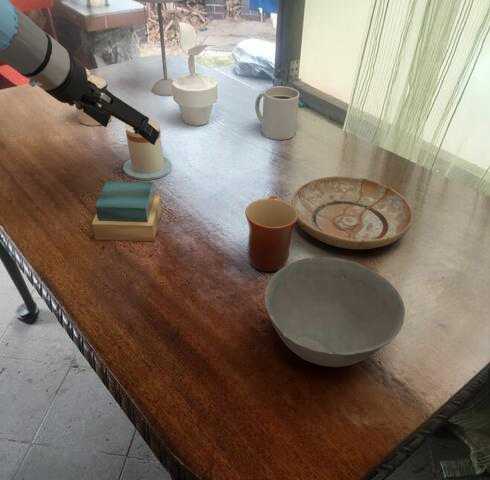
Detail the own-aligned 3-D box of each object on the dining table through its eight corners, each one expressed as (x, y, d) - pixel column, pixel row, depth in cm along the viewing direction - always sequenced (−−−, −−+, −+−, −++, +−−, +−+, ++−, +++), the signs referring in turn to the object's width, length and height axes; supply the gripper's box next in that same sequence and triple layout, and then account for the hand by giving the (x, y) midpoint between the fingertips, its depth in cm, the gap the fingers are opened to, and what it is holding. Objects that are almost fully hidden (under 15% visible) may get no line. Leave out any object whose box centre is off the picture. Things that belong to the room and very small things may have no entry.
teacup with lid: (110, 126, 118) (101, 78, 110) (75, 126, 118) (63, 78, 109) (116, 108, 126) (109, 62, 118) (83, 108, 126) (73, 61, 117)
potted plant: (166, 120, 122) (155, 9, 104) (200, 109, 128) (195, 2, 110) (195, 136, 116) (189, 21, 98) (229, 124, 122) (230, 13, 103)
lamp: (204, 85, 141) (199, -53, 116) (179, 104, 130) (168, -43, 105) (155, 76, 144) (140, -59, 120) (127, 95, 133) (105, -50, 109)
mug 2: (290, 279, 79) (297, 230, 71) (241, 274, 79) (242, 225, 72) (293, 238, 87) (299, 190, 79) (247, 235, 87) (249, 186, 80)
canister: (127, 161, 104) (120, 122, 98) (157, 155, 107) (153, 117, 100) (136, 176, 100) (130, 135, 94) (168, 169, 102) (164, 130, 96)
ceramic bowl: (429, 228, 91) (437, 207, 87) (359, 280, 79) (366, 258, 75) (337, 184, 102) (341, 163, 98) (264, 223, 90) (266, 201, 86)
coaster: (117, 161, 105) (117, 159, 105) (162, 153, 109) (162, 151, 109) (131, 184, 99) (131, 181, 98) (178, 174, 102) (178, 172, 102)
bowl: (236, 362, 66) (238, 314, 58) (296, 289, 77) (303, 241, 70) (357, 423, 59) (375, 377, 52) (402, 334, 71) (422, 286, 63)
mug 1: (299, 138, 117) (304, 98, 110) (264, 141, 115) (266, 100, 108) (286, 121, 124) (290, 82, 117) (253, 124, 122) (255, 84, 115)
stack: (108, 207, 92) (101, 178, 88) (162, 209, 92) (158, 180, 88) (95, 239, 85) (87, 209, 80) (154, 241, 85) (150, 211, 80)
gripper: (-2, 75, 80) (82, 130, 100) (99, 110, 71) (169, 163, 91) (13, 33, 79) (95, 97, 99) (118, 64, 70) (184, 128, 90)
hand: (131, 129), depth 95 cm, fingers open, 13 cm apart
